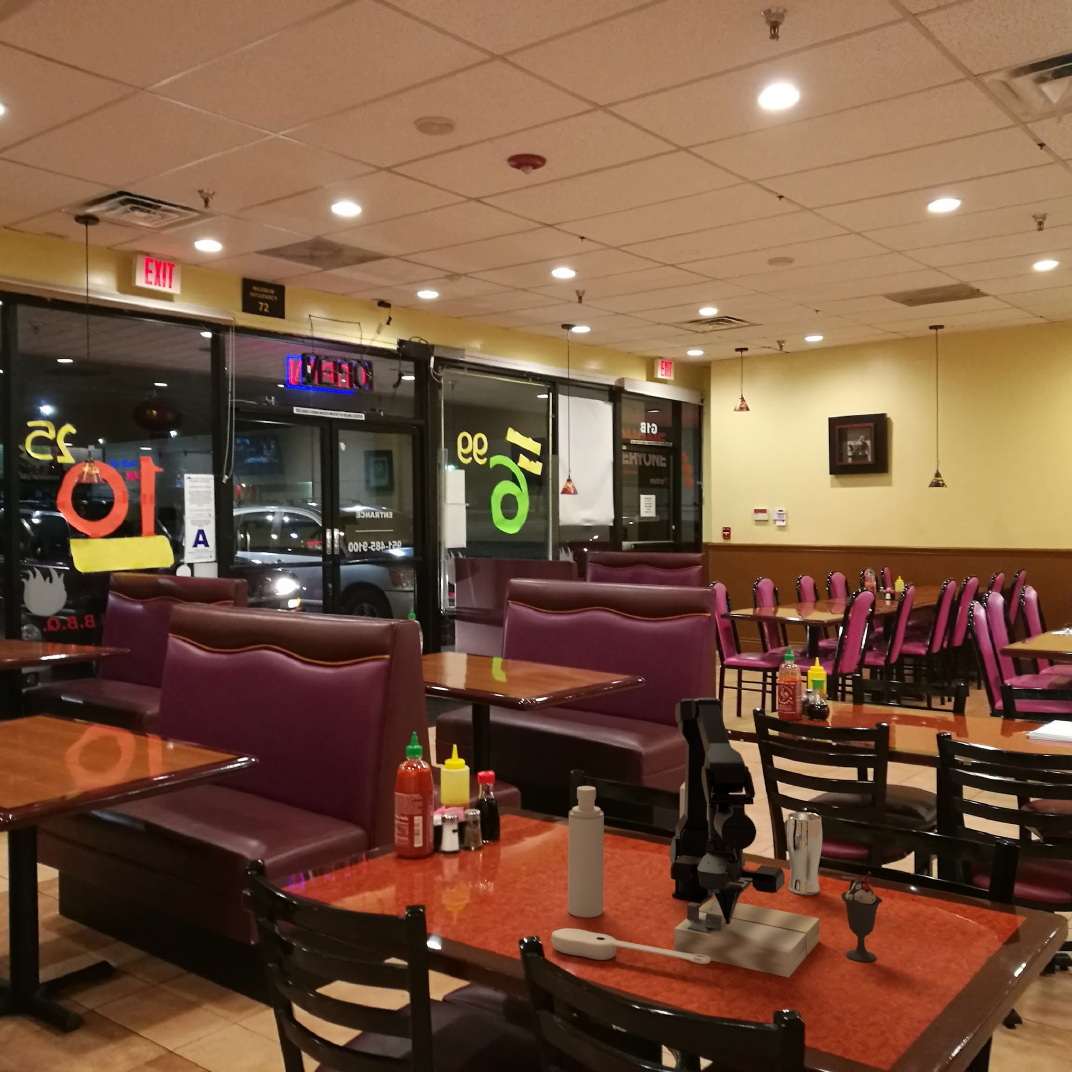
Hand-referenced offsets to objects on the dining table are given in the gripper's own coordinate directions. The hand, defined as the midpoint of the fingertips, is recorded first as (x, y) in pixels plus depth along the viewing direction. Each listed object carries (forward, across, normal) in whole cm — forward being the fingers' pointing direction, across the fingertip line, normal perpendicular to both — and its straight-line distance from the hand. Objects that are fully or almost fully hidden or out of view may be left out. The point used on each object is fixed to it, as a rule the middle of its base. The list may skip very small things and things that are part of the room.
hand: (728, 923), depth 179 cm
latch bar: (0, -3, +4) cm, 5 cm away
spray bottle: (+4, -30, +5) cm, 31 cm away
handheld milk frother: (+5, -13, -12) cm, 19 cm away
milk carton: (+5, -23, +49) cm, 54 cm away
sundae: (+6, +20, +10) cm, 23 cm away
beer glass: (+6, +3, +38) cm, 39 cm away
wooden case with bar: (+5, +2, +4) cm, 7 cm away
